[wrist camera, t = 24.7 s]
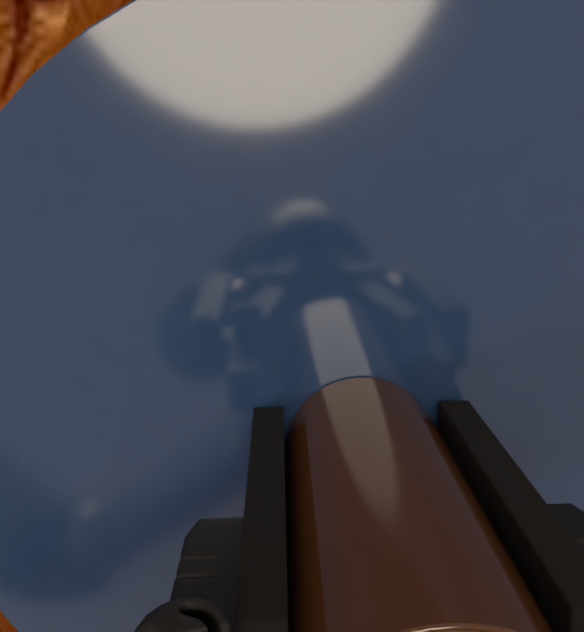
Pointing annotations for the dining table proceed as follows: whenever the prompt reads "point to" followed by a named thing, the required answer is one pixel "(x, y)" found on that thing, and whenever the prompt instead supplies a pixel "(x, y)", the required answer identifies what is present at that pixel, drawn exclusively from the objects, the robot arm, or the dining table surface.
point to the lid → (289, 300)
